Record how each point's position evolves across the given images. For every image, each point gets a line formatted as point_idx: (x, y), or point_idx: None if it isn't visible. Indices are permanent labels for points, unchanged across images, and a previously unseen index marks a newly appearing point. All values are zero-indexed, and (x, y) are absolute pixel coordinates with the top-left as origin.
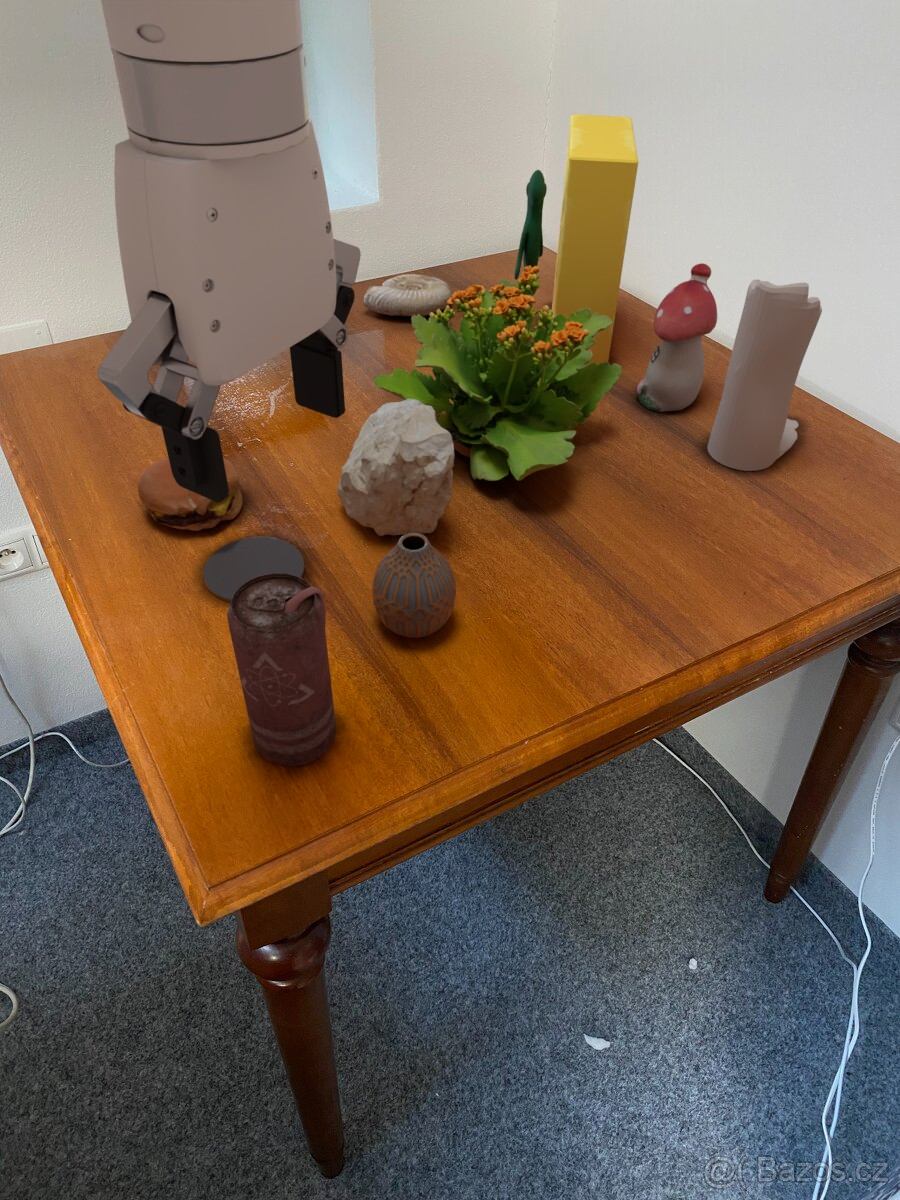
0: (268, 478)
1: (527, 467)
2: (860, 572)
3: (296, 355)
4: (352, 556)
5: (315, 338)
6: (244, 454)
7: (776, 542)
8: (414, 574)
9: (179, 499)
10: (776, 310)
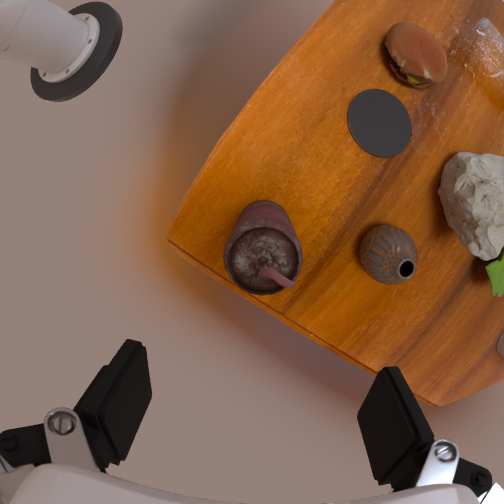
0: (452, 93)
1: (493, 269)
2: (439, 400)
3: (402, 435)
4: (417, 180)
5: (400, 481)
6: (461, 71)
7: (456, 373)
8: (385, 272)
9: (400, 55)
10: None
